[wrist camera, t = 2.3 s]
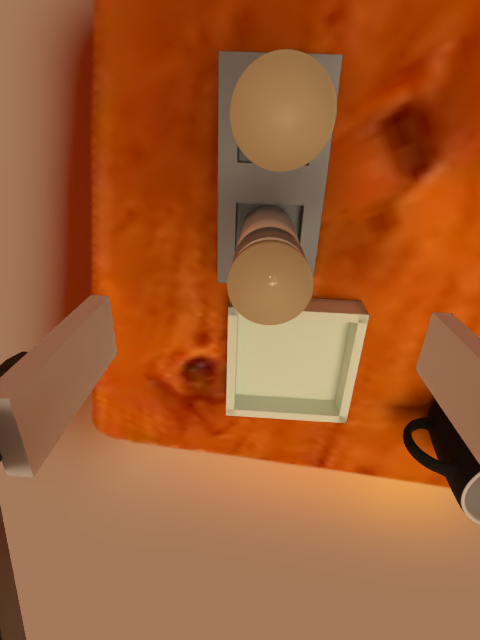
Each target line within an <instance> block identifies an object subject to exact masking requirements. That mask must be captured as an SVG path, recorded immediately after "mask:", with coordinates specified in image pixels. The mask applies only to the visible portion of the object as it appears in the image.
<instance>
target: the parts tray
mask: <svg viewBox="0 0 480 640" xmlns="http://www.w3.org/2000/svg"><path fill="white" fill-rule="evenodd" d="M368 319H369V314H368V312H367V310H366V309H365V307H364V305H363V304H362V302H361V301H357V300H338V299H319V298H311V300H310V302H309V304H308V305H307V307H306V308H305V309H304V310H303V312H302V313H301V314H299V315H298V316H297V317H295V318H294V319H292V320H290V321H288V322H286V323H283V324H278V325H261V324H257V323H254V322H251V321H249V320H247V319H246V318H244V317H243V316H242V315H240V314H239V313H238V312H237V311H236V309H235V308H234V307H233V305H232V303H231V301H229V306H228V340H227V389H226V415H230V416H245V417H260V418H276V419H291V420H306V421H321V422H337V423H346V421H347V416H348V411H349V407H350V402H351V397H352V393H353V388H354V384H355V379H356V374H357V370H358V365H359V360H360V356H361V351H362V347H363V342H364V337H365V333H366V328H367V323H368Z"/></svg>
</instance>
